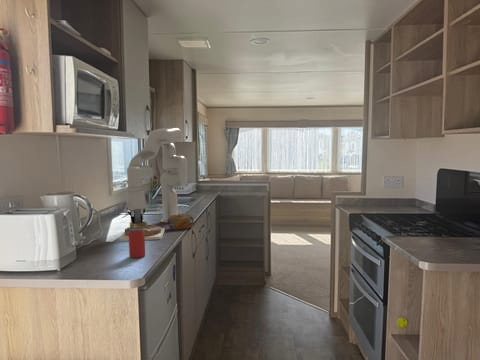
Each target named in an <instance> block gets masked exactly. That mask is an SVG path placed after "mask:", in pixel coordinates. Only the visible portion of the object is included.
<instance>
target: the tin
mask: <svg viewBox="0 0 480 360" xmlns="http://www.w3.org/2000/svg"><path fill="white" fill-rule="evenodd" d="M193 224H194V217H193V216H192V215H191V214H187V213H183V214H178V215H172V216H170V217H169V219H168V223H167V226H168V227H169V228H170V229H171V230H184V229H185V230H186V229H190V228H191V227H192V226H193Z"/></svg>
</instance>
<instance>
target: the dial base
mask: <svg viewBox="0 0 480 360" xmlns="http://www.w3.org/2000/svg"><path fill="white" fill-rule="evenodd" d="M165 232H166V228H165V227H161V232H160V233H158V234H154V235H149V236H145V241H148V240H154V241H156V240H162V238H163V236H164V233H165ZM124 241H125V242H129V236H128V235H125V231H124V232H123V233H122V234H121V235H120V236H119V237H118V242H124Z"/></svg>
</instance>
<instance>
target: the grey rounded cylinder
mask: <svg viewBox="0 0 480 360" xmlns="http://www.w3.org/2000/svg"><path fill="white" fill-rule="evenodd" d="M133 215H134V218H135V224H137V223H141V211H140V209H138V210H134V214H133Z"/></svg>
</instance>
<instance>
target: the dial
mask: <svg viewBox="0 0 480 360" xmlns="http://www.w3.org/2000/svg"><path fill="white" fill-rule="evenodd" d="M132 228H143V230H144V233H145V236H149V235H154V234H158V233H160V232H161V228H162V227H161V226H160V225H154V224H148V222H147V221H144V220H142V222H141V223H137V224H135V223H134V224H133V223H132V222H131V221H130V222H129V227H126V228H124V232H125V235H128V236H129V232H130V229H132Z"/></svg>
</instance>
